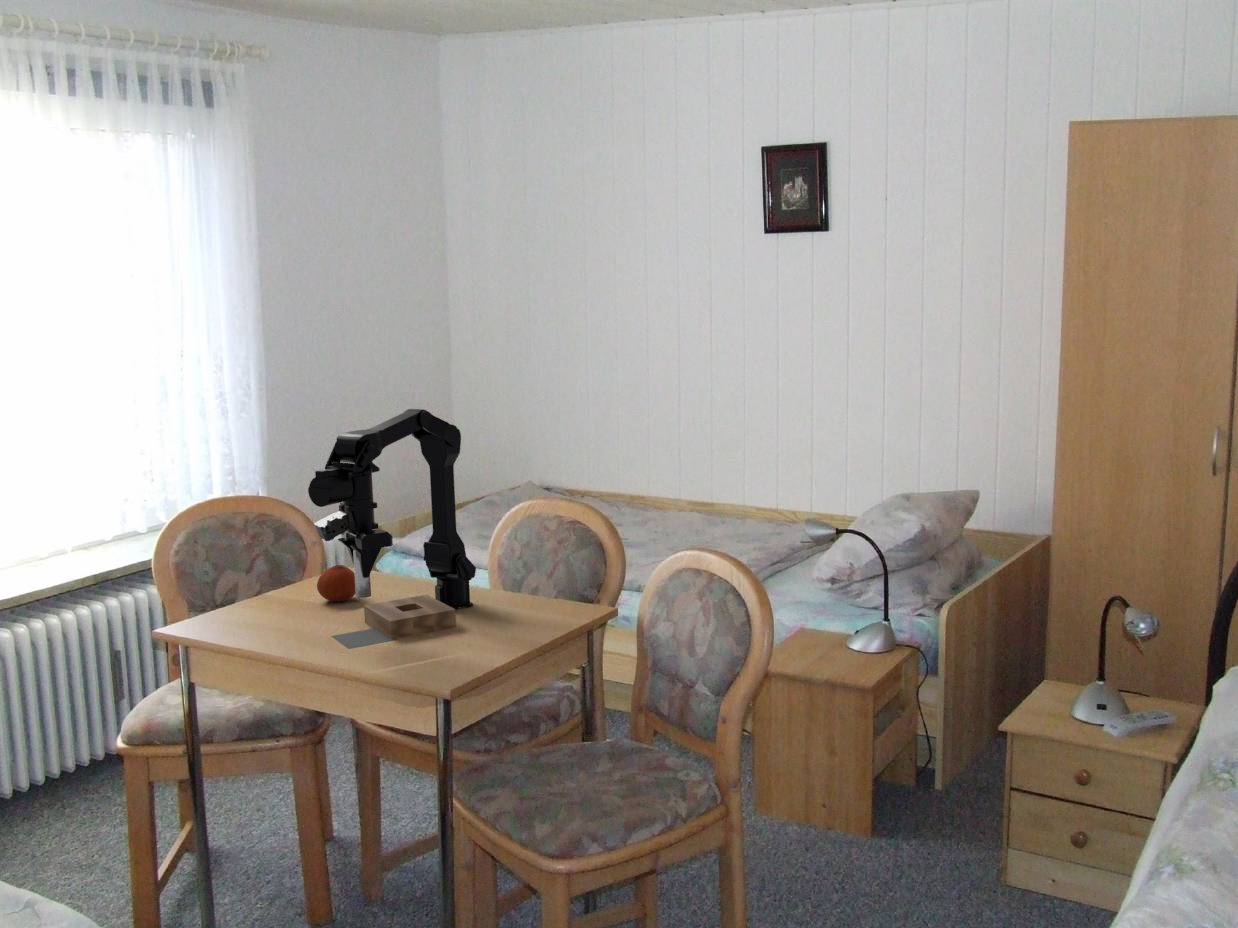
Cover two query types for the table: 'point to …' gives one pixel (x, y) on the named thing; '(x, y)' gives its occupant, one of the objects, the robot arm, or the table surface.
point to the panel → (362, 638)
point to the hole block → (409, 616)
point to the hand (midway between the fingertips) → (362, 575)
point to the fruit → (337, 584)
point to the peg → (360, 579)
